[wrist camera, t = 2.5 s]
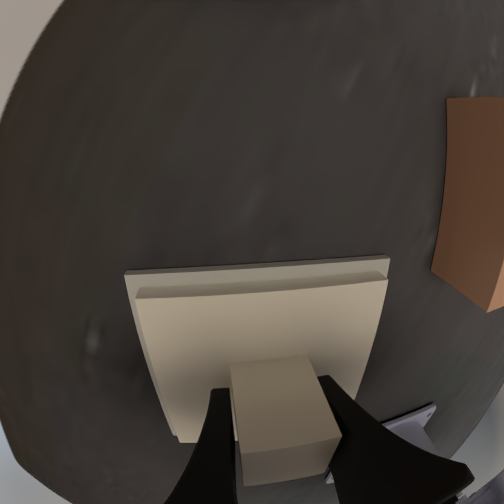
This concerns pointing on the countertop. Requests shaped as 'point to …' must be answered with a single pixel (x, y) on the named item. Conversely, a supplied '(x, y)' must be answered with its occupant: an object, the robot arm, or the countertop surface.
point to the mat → (238, 275)
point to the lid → (263, 361)
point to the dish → (473, 202)
